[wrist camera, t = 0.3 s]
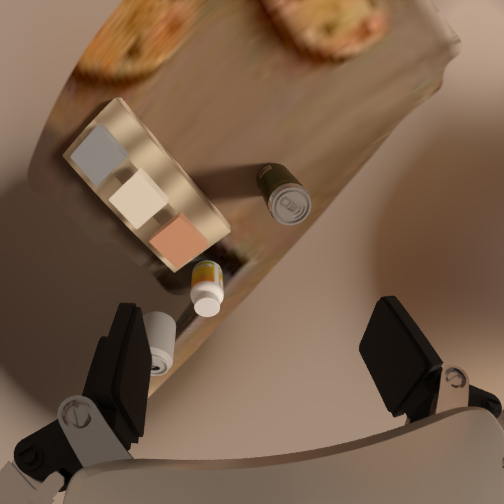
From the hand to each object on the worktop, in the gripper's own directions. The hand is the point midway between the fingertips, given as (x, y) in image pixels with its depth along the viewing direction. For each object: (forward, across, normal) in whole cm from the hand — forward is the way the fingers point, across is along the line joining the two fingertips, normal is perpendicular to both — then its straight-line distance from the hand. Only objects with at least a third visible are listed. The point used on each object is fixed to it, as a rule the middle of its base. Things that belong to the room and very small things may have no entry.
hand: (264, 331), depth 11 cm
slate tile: (+32, +18, -2) cm, 37 cm away
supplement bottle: (+36, +3, +21) cm, 42 cm away
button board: (+36, +12, +5) cm, 38 cm away
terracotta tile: (+33, +7, +11) cm, 35 cm away
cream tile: (+33, +12, +5) cm, 35 cm away
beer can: (+36, -8, +4) cm, 37 cm away
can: (+37, +13, +34) cm, 51 cm away
